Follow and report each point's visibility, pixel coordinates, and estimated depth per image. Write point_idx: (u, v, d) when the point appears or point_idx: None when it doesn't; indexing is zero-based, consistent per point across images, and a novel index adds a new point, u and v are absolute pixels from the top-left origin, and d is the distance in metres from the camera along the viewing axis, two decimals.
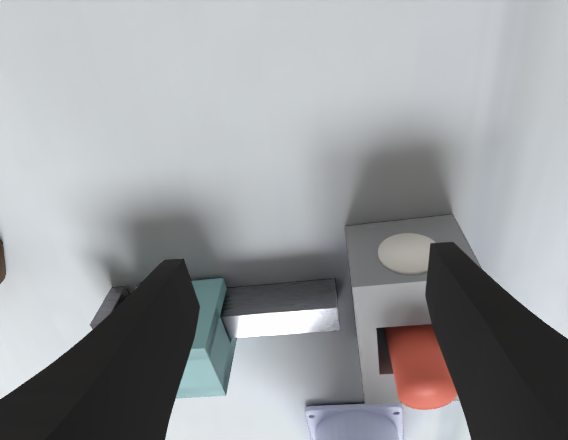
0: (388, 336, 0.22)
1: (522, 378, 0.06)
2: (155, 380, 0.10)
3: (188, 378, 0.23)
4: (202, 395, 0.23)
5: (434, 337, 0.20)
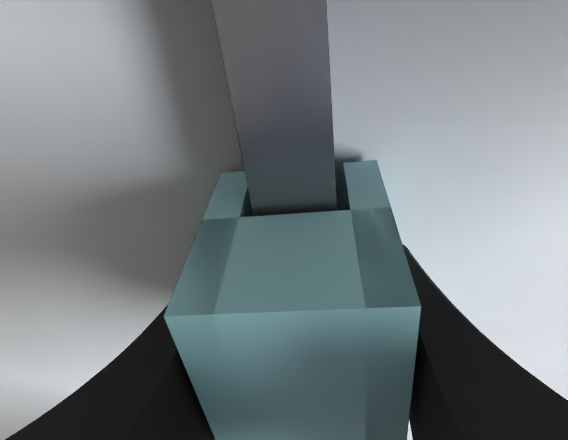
0: None
1: (437, 380, 0.06)
2: None
3: (314, 371, 0.08)
4: (407, 360, 0.07)
5: None
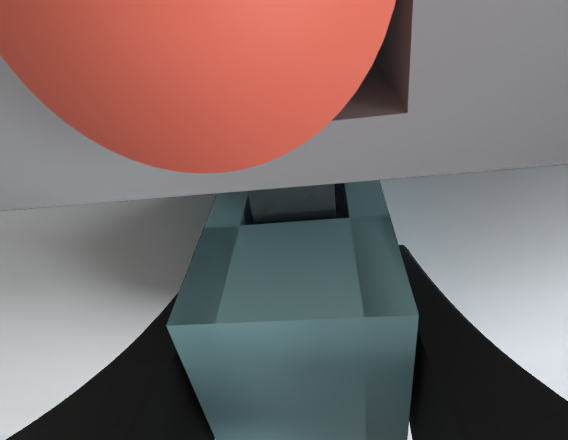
0: None
1: (437, 380, 0.06)
2: None
3: (314, 378, 0.08)
4: (406, 367, 0.07)
5: None
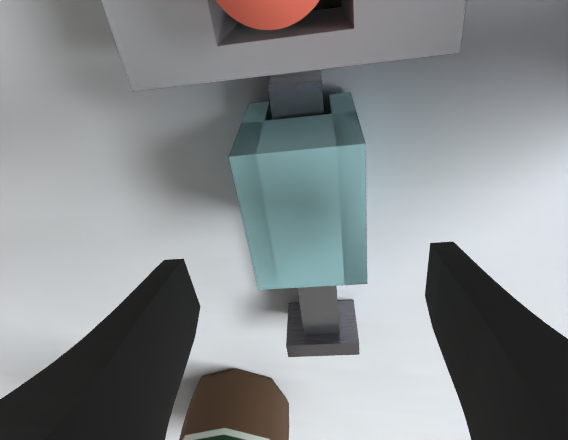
0: None
1: (522, 378, 0.06)
2: (155, 380, 0.10)
3: (310, 194, 0.14)
4: (361, 183, 0.13)
5: None
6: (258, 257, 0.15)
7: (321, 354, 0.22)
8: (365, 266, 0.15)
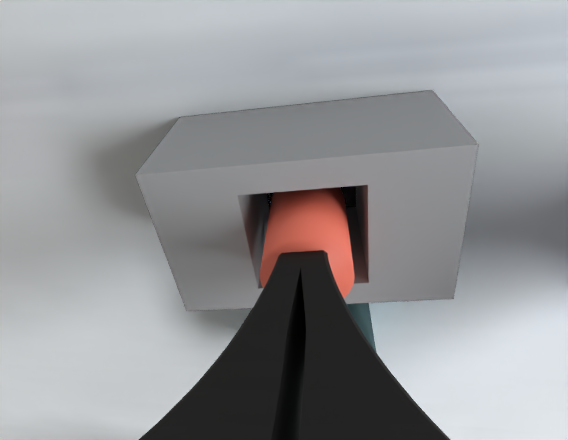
0: None
1: (303, 383, 0.07)
2: (297, 376, 0.09)
3: None
4: None
5: (272, 212, 0.13)
6: None
7: None
8: None
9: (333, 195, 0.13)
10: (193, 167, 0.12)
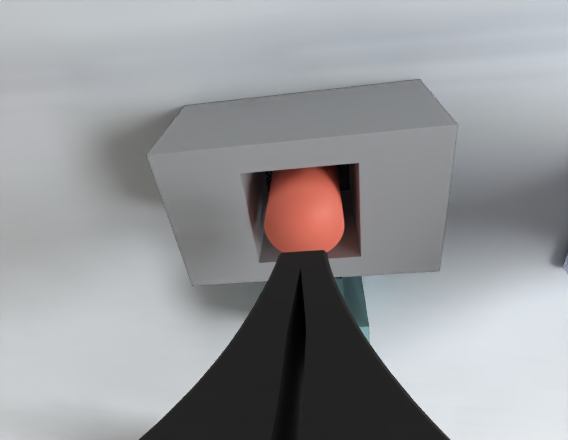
0: None
1: (303, 383, 0.07)
2: (297, 376, 0.09)
3: None
4: None
5: (274, 175, 0.15)
6: None
7: None
8: None
9: None
10: (199, 147, 0.13)
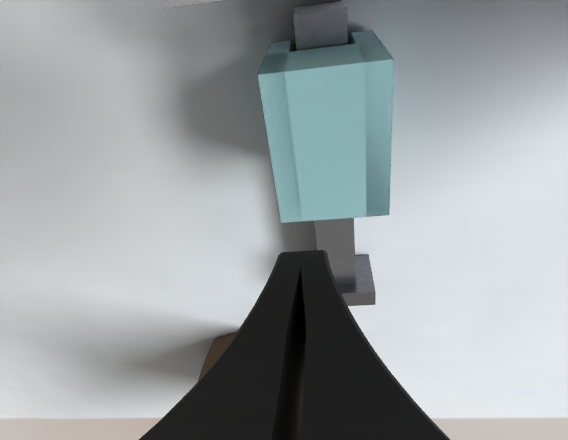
0: None
1: (303, 383, 0.07)
2: (297, 376, 0.09)
3: (336, 116, 0.14)
4: (388, 103, 0.13)
5: None
6: (282, 186, 0.15)
7: None
8: (388, 195, 0.15)
9: None
10: None
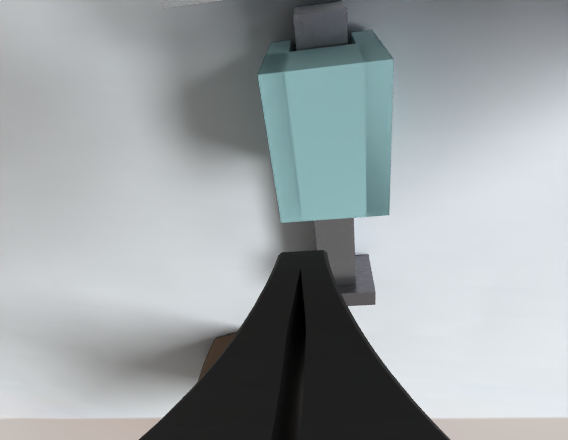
0: None
1: (303, 383, 0.07)
2: (297, 376, 0.09)
3: (336, 116, 0.14)
4: (388, 103, 0.13)
5: None
6: (282, 186, 0.15)
7: None
8: (388, 195, 0.15)
9: None
10: None
